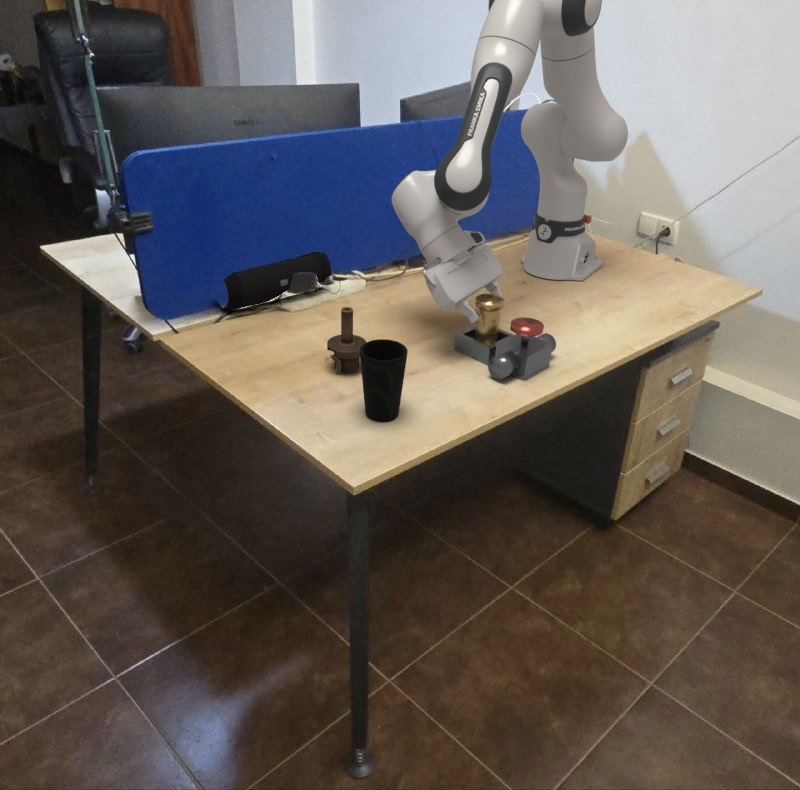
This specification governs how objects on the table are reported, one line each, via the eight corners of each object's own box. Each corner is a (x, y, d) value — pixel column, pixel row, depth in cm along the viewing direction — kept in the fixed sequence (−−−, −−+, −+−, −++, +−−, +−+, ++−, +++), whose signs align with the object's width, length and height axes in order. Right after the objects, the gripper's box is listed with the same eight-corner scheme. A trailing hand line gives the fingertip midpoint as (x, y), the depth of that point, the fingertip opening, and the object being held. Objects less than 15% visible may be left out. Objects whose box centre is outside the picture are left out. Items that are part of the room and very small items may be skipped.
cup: (351, 419, 116) (351, 355, 110) (369, 397, 122) (370, 335, 116) (395, 430, 114) (397, 364, 108) (411, 407, 120) (414, 344, 114)
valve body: (492, 332, 146) (497, 291, 142) (560, 360, 137) (567, 318, 132) (441, 355, 137) (444, 313, 132) (510, 388, 127) (516, 343, 122)
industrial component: (336, 381, 127) (336, 321, 121) (319, 364, 132) (318, 305, 126) (382, 369, 131) (383, 310, 125) (363, 353, 136) (364, 296, 130)
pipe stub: (482, 342, 142) (487, 291, 137) (503, 351, 139) (510, 300, 133) (465, 350, 139) (470, 298, 133) (486, 359, 136) (492, 307, 130)
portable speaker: (232, 320, 147) (228, 275, 142) (211, 304, 154) (206, 260, 149) (333, 293, 161) (333, 251, 156) (310, 280, 168) (309, 239, 163)
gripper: (430, 258, 125) (473, 323, 125) (485, 230, 139) (524, 288, 140) (408, 276, 129) (450, 338, 130) (464, 247, 144) (501, 303, 144)
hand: (489, 312), depth 135 cm, fingers open, 8 cm apart
